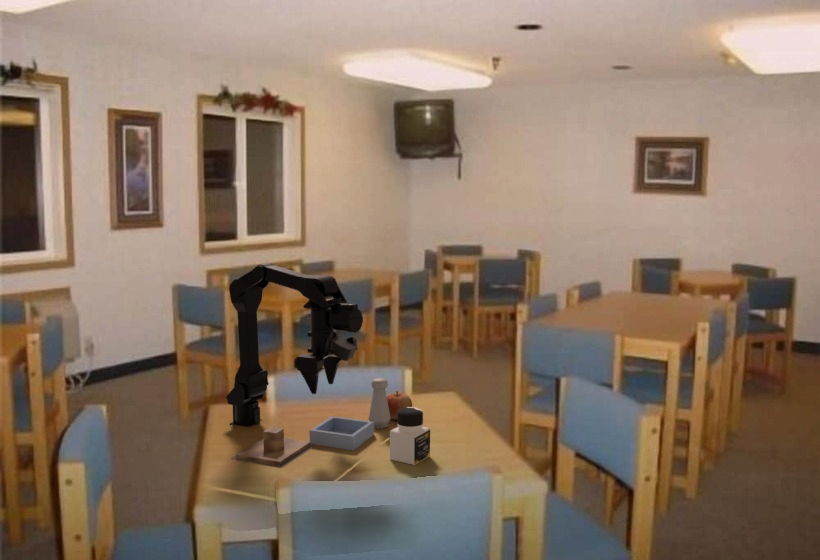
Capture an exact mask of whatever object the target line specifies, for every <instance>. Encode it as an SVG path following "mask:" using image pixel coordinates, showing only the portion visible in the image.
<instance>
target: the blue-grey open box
mask: <svg viewBox="0 0 820 560" xmlns="http://www.w3.org/2000/svg"><path fill="white" fill-rule="evenodd" d="M373 436H375V428H374V422H372V421H369V420H364V419H357V418H349V417H343V416H335V415H331V416H330V417H328V418H327V419H325V420H323V421H322V422H320V423H319V424H317V425H316V426H314V427H312V428H311V429H309V442H310V445H318V446H324V447H329V448H337V449H342V450H348V451H355V450H356V449H357V448H358V447H360V446H362V444H364V443H365V442H366V441H368V440H369V439H371V437H373Z"/></svg>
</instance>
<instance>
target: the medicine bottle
mask: <svg viewBox="0 0 820 560" xmlns="http://www.w3.org/2000/svg"><path fill="white" fill-rule="evenodd" d="M396 421H397V424H396V425H397V427H395V428H393V429H391V430H390V431H389V460H392V461H396V462H399V463H404V464H409V465H411V464H412V466H416V465H417V464H419V463H421V462H423V461H424V460H426V459H427V458H429V457H430V455H431V428H430V427H428V426H427V427H426V426H424V412H423V410H422V409H420V408H418V407H415V406H414V407H413V406H412V407H405V408H402V409H400V410H399V411H398V412H397V420H396Z"/></svg>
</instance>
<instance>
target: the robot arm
mask: <svg viewBox="0 0 820 560" xmlns="http://www.w3.org/2000/svg"><path fill="white" fill-rule="evenodd" d="M270 284H275V285H278V286H280V287H281V286H282V287H285V288H288V289H291V290H295V291H297V292H299V293H300V294H301V295H302V296H303V297H305V299H308V301H307V302H306V303H305V304H304V305H303V309H307V310H310V331H307V337H309V338H310V347H308V348H307V353H306V352H304V353H301V354H300V355H298V356H297V357H295V358H294V360H293V367H294V369H297V371H299V372H300V374H301V375H302V377H303V379H304V380H305V383H306V385H307V387H308V389H309V391H310V393H311V395H316V394H317V391H318V385H319V384H318V383H319V374H320V373H321V372H322V371H323V370H324V372H325V376H326V381H327V383H328V384H329V385H333V384H334V382H335V378H336V375H337V371H338V368H339V365H340V363H341V362H342V361H344V362H348V361H350V360H351V359H353V357H354V355H355V352H356V351H358V350H359V349H358V344H357V343H358V341H357V338H356V337H355V336H352V335H350V336H349V337H347V338H345V337H344V338H341V337H339V332H338V331H341V332H349V333H357V332H359V331H360V330H361V328H362V326H363V323H364V316H363V314H362V310H360V309H359V308H358V307H359V304H357V303H347V302H348V301H347V299H346V298H345V296H344V294H343V292H342V290H341V289H340V287H339V284H338V282H337V280H336V278H335V277H334V276H331V275H322V274H320V275H319V274H305V273H303V272H299V271H295V270H291V269H288V268H284V267H281V266H279V265H275V264H274V263H270V262H269V263H262V264H261V263H260V264H258V265H256V266H255V267H254V268H252V269H251V270H250V271H249V272H246V273H245V274H243V275H242V276H240V277H239V278H236V279H233V280H232V282H231V283H229V287H228V290H229V297H230V303H231V304H232V306H233V307H234V309H235V310H236V313H237V326H238V328H237V329H238V330H237V331H238V345H239V346H238V347H239V348H238V350H239V366H238V369H237V372H236V374H235V376H234V385H233V388H232V389H231V390H230V392H229V393H228V394H227V395H226V401H227V404H228V405H230V406H231V405H232V421H231V422H229V426H240V427H241V426H242V427H247V428H248V427H249V428H251V427H253V426H254V425H257V424H259V423H260V422H262V421H263V419H261V408H260V405H259V401H260V400H263V398H264V395H265V392H266V391H267V390H268V389H267V388H268V386H269V380H268V378H269V377H268V375H269V372H268V370H267V369H263V367H262V366H261V364H260V356H259V355H260V352H259V335H258V334H259V332H258V331H259V330H258V329H259V328H258V308H260V307H259V306H260V305H261V304H262V303H261V302H262V300H263V290H265V289H266V288H267V287H268V286H269V285H270Z"/></svg>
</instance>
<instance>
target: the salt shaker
mask: <svg viewBox="0 0 820 560" xmlns="http://www.w3.org/2000/svg"><path fill="white" fill-rule="evenodd" d="M388 383H389V382H388V380H387V378H383V377H376V378H374V379H372V380H371V383H370V384H371V388H372V389H373V391H372V395H371V397H372V398H371V402H370V407H369V413H368V421H372V422H374V429H376V428H377V429H378V430H379V429H380V430H383V429H386V427H388V425H389V423H390V421H391V417H390V412H389V407H388V402H387V391H386V389H387V388H388V385H389V384H388ZM382 428H383V429H382Z"/></svg>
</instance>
